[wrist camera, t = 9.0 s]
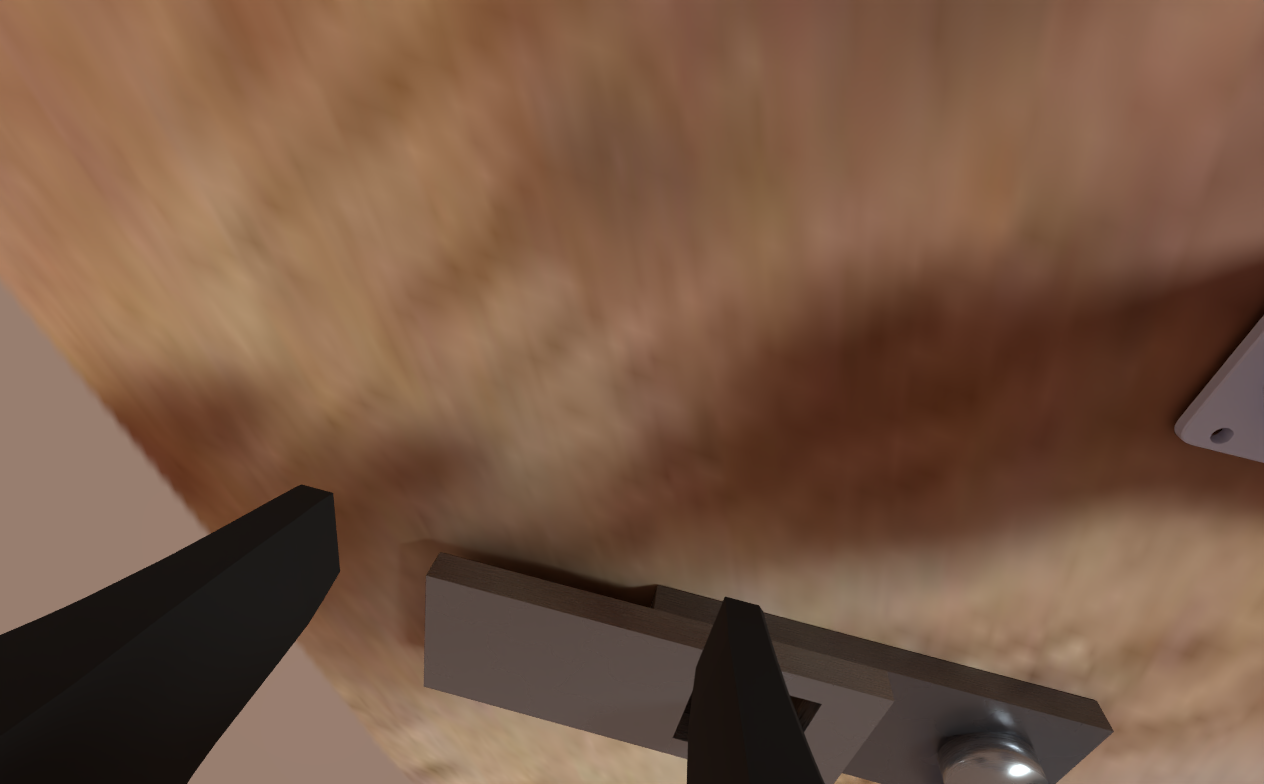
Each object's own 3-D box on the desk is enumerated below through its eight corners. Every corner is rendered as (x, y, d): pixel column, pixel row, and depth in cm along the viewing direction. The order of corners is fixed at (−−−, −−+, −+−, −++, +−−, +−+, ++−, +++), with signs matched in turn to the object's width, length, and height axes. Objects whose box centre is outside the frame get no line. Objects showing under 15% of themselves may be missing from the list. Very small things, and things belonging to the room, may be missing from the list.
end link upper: (880, 643, 23) (894, 701, 21) (817, 739, 27) (824, 796, 25) (453, 530, 24) (426, 575, 22) (447, 638, 27) (423, 686, 25)
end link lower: (1096, 701, 23) (1132, 765, 21) (1003, 790, 26) (1026, 852, 24) (657, 584, 23) (650, 635, 21) (625, 687, 27) (615, 739, 25)
